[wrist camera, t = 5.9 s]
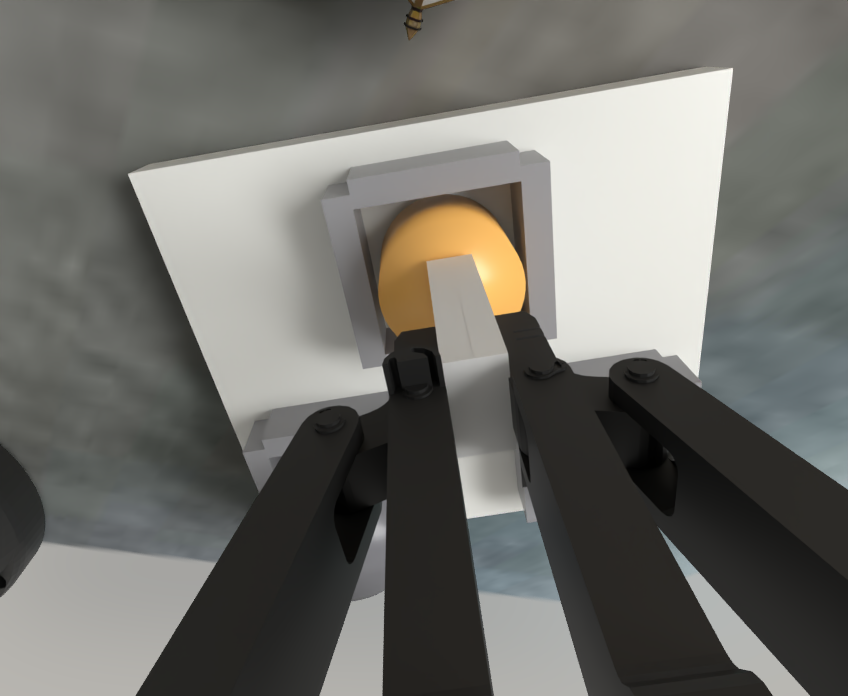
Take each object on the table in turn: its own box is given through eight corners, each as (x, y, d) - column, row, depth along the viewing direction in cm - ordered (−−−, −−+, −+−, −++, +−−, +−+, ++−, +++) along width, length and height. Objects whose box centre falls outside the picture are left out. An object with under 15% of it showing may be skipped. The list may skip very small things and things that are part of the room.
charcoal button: (308, 543, 26) (297, 609, 23) (279, 465, 23) (261, 527, 20) (410, 528, 26) (412, 592, 23) (391, 448, 23) (390, 508, 20)
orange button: (393, 323, 22) (393, 366, 19) (369, 206, 20) (364, 233, 17) (511, 304, 22) (529, 344, 19) (501, 183, 20) (520, 207, 17)
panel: (288, 517, 31) (273, 582, 27) (149, 163, 21) (96, 187, 18) (668, 461, 30) (707, 519, 26) (704, 66, 21) (773, 70, 17)
